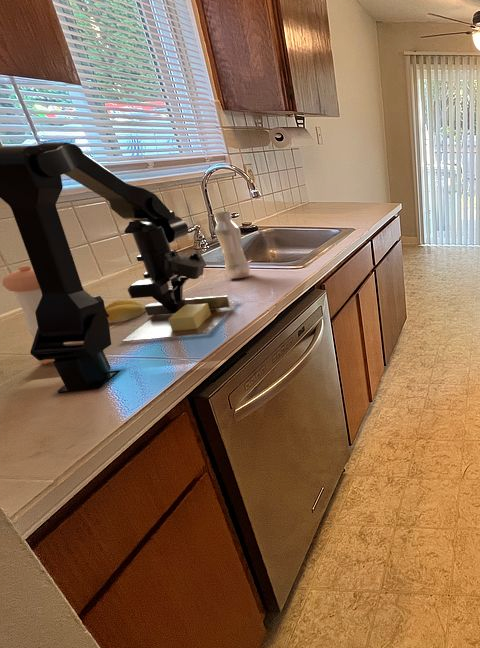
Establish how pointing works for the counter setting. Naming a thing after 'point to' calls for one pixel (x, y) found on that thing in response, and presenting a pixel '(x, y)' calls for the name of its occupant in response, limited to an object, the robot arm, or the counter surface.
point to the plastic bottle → (231, 246)
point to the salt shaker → (27, 296)
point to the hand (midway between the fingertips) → (177, 310)
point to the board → (162, 329)
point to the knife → (212, 303)
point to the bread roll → (124, 310)
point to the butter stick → (189, 317)
